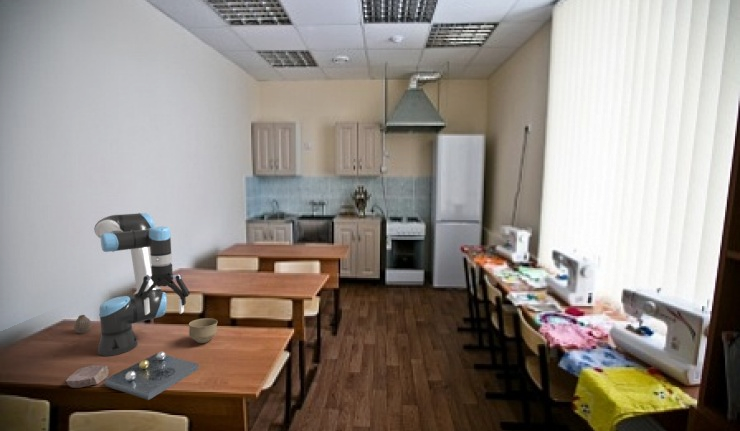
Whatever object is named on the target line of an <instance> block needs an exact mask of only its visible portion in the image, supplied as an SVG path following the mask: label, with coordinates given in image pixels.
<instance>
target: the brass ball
mask: <svg viewBox="0 0 740 431" xmlns="http://www.w3.org/2000/svg"><path fill="white" fill-rule="evenodd" d="M139 362H140V364H139V367H140V369H146V368H148V366H149V361H147V360H145V359H142V360H141V361H139Z"/></svg>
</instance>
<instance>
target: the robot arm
mask: <svg viewBox="0 0 740 431" xmlns="http://www.w3.org/2000/svg"><path fill="white" fill-rule="evenodd" d="M93 230H94V233H95V235H96V237H98V239H100V247H101V250H102V252H105V253H108V252H112V253H115V252H117V251H125V250H127V251H128V250H130V253H131V261H132V268H133V274H134V281H135V287H136V291H135V292H134V293H133V298H130V296H127V295H124V296H123V295H122V296H117V297H113V298H110V299H108V300H106V301H104V302H103V303H101V305H100V306H99V313H98V316H99V320H100V331H101V332H100V333H101V336H100V339H99V342H98V347H97V354H99V356H103V357H104V356H105V357H108V356H116V355H120V354H124V353H127V352H130V351H131V350H133V349H135V348H136V347H137V346H138V341H139V340H138V337H137V336H136V334H135V332H134V330H133V324H135V323H139V322H143V321H149V320H153V319H154V320H155V319H156V318H161V317H163V316H165V314H166V312H167V305H168V304H167V303H168V302H167V301H168V300H167V299H168V298H167V293H166V292H164V291H162V288H161V287H168V288H170V289H171V290H172V291H173V292H174V293H175V294H177V296H178V297H179V298H178V306H179V307H178V309H179V312H178V313H179V314H180V315H181V314H183V313H185V312H184V311H185V307H184V306H185V305H186V303H187V302H186V301H187V300H186V299H187V297H189V296H190V294H191V292H190V291H189V289H188V286H186V284H185V282H184V280H183V278H182V275H181V274H180V273H179V274H177V275H176V274H175V275H174V274H173V264H172V262H173V259H172V240H171V237H172V234H171V229H170V227H168V226H155V222H154V219H153V216H151V214H150V213H146V212H145V213H142V212H141V213H140V212H138V213H126V214H125V213H124V214H123V213H122V214H113V215H108V216H105V217H103V218H102V219H99V220H98V221H97V222H96V224H95V225H94V228H93ZM174 281H176V283H177V284H176V283H175V282H174Z"/></svg>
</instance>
